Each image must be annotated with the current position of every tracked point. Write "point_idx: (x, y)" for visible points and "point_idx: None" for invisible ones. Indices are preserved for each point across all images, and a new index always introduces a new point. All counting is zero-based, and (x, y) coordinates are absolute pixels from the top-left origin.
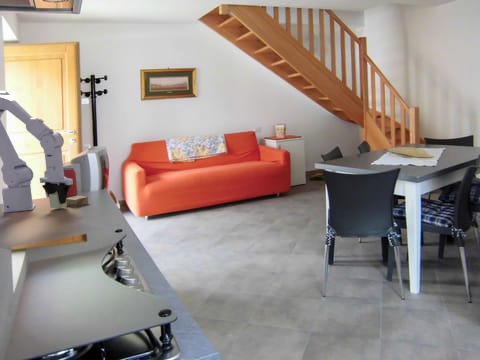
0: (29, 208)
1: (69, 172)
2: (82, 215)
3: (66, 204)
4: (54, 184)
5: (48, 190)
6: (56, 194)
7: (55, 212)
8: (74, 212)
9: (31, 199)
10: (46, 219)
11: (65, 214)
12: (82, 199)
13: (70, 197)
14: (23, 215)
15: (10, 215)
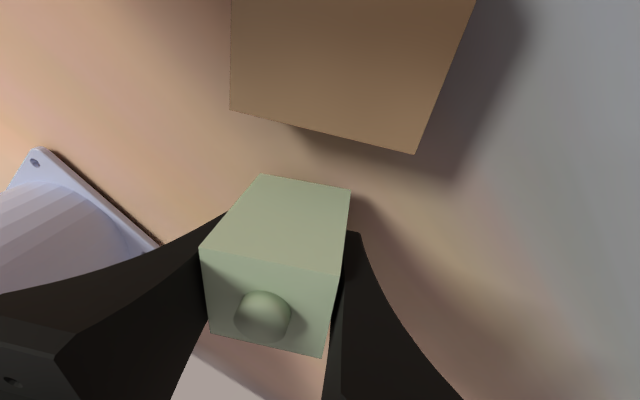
0: (138, 252)
1: None
2: (593, 341)
3: (349, 199)
4: (109, 382)
5: (180, 370)
6: (294, 340)
7: None
8: (494, 284)
9: (60, 254)
10: None
11: (452, 320)
12: (458, 26)
13: (248, 21)
14: None
15: None
